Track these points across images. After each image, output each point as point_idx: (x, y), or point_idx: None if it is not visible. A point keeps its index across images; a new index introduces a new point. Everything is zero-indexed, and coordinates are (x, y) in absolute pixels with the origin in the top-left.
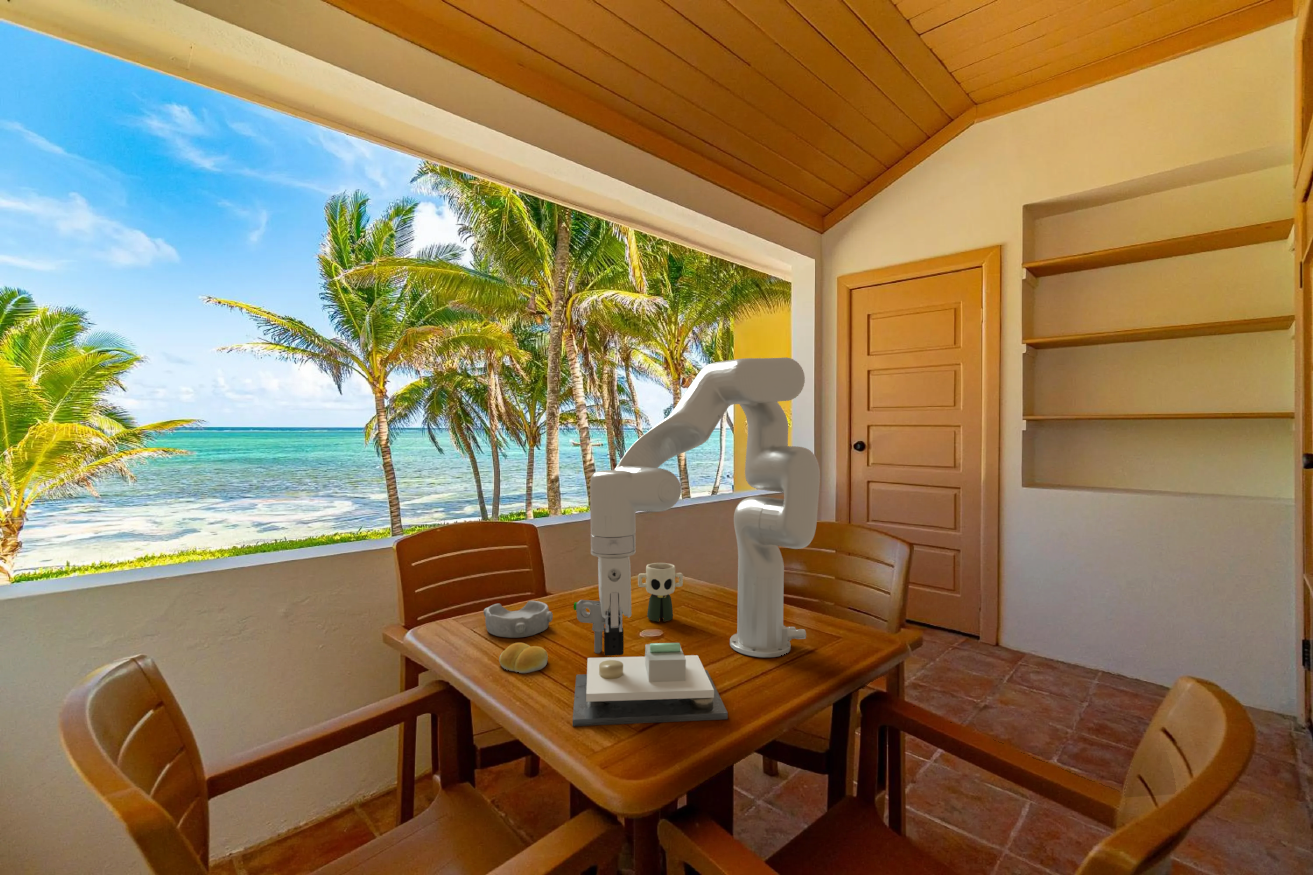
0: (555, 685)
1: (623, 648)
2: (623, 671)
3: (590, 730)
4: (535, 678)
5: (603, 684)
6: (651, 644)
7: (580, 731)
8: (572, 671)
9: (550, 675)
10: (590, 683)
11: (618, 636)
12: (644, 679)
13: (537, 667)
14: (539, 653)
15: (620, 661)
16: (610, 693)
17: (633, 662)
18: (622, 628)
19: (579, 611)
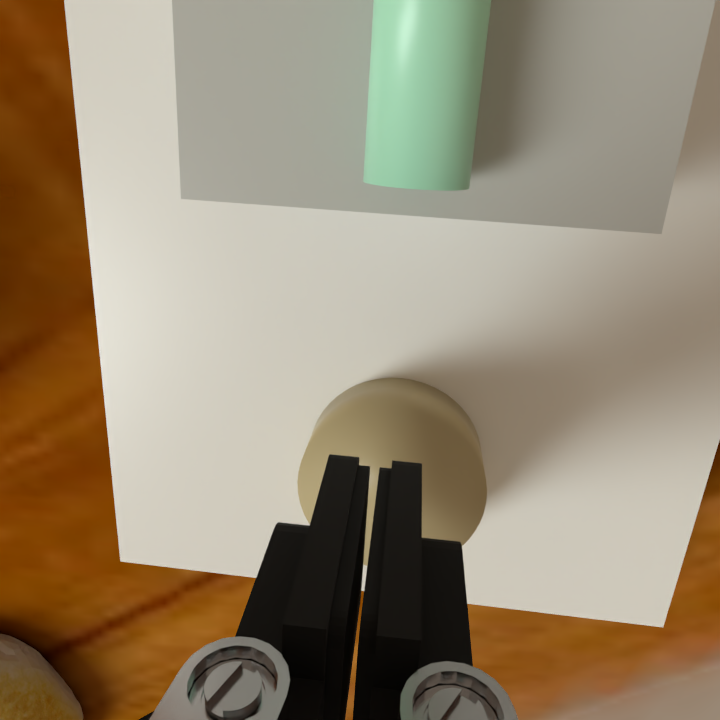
0: (210, 606)
1: (420, 489)
2: (365, 369)
3: (698, 510)
4: (134, 672)
5: (555, 522)
6: (432, 175)
7: (691, 550)
8: (53, 527)
9: (102, 618)
10: (519, 589)
11: (467, 656)
12: (543, 234)
13: (50, 678)
14: None
15: (180, 364)
16: (697, 497)
17: (204, 271)
18: (316, 634)
19: None
